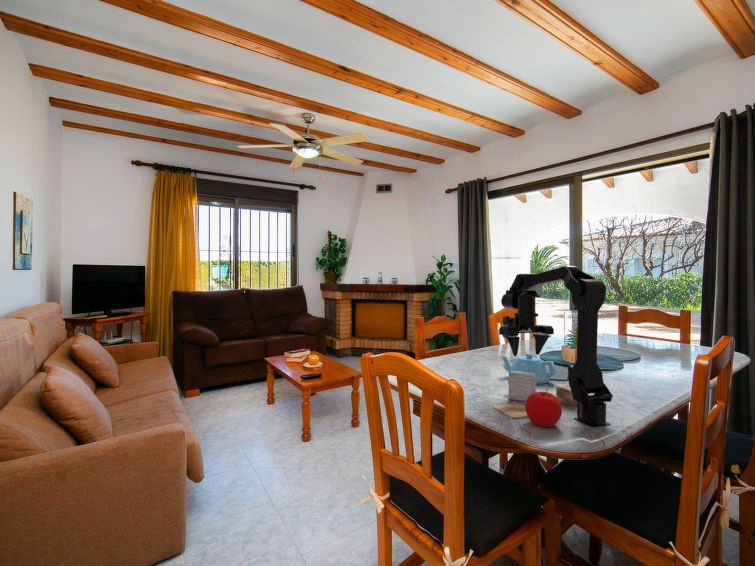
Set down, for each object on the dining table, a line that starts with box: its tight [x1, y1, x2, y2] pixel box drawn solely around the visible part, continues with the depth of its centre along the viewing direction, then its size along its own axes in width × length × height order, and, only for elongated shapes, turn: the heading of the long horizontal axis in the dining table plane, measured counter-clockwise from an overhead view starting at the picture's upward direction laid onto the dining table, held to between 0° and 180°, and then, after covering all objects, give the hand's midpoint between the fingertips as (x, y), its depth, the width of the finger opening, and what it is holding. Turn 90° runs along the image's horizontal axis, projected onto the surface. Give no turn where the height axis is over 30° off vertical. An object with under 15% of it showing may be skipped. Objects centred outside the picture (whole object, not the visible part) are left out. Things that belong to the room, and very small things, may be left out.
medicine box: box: [507, 371, 537, 402], centre depth 120 cm, size 8×4×9 cm, turn 59°
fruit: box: [525, 388, 563, 428], centre depth 100 cm, size 9×9×10 cm
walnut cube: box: [555, 384, 578, 408], centre depth 117 cm, size 5×5×5 cm
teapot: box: [501, 352, 558, 385], centre depth 142 cm, size 15×15×11 cm
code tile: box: [503, 394, 526, 405], centre depth 120 cm, size 11×6×1 cm, turn 18°
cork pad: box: [492, 402, 528, 420], centre depth 110 cm, size 10×10×1 cm
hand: (526, 355), depth 127 cm, fingers open, 9 cm apart
